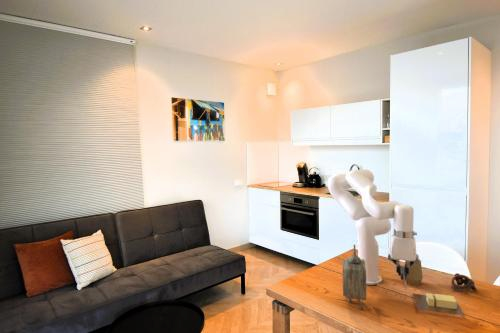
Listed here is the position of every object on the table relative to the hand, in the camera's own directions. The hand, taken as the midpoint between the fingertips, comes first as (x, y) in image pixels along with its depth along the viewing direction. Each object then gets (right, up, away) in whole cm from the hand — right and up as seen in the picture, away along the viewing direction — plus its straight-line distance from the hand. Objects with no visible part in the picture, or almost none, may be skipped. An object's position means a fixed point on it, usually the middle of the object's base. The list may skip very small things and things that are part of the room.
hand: (402, 274), depth 134 cm
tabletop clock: (-22, -12, -2) cm, 25 cm away
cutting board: (+10, -11, -7) cm, 17 cm away
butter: (+13, -9, -8) cm, 18 cm away
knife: (-1, -1, -4) cm, 4 cm away
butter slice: (+8, -9, -7) cm, 14 cm away
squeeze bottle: (+12, -9, +13) cm, 20 cm away
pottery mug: (+30, -9, +5) cm, 32 cm away
